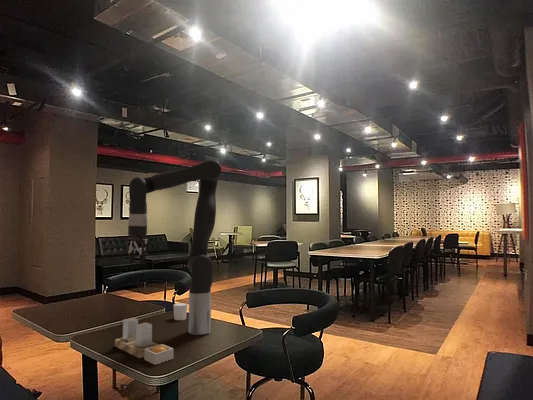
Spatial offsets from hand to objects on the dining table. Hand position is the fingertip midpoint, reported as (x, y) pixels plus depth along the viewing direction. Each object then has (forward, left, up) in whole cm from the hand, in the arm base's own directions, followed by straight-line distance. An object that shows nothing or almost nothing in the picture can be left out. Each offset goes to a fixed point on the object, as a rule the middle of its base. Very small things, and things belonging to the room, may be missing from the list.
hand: (136, 263), depth 148 cm
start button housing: (-16, +26, -30) cm, 42 cm away
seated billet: (-2, +12, -30) cm, 32 cm away
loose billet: (-9, +19, -30) cm, 36 cm away
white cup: (-14, -26, -30) cm, 42 cm away
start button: (-16, +26, -29) cm, 41 cm away
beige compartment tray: (-5, +15, -30) cm, 34 cm away
